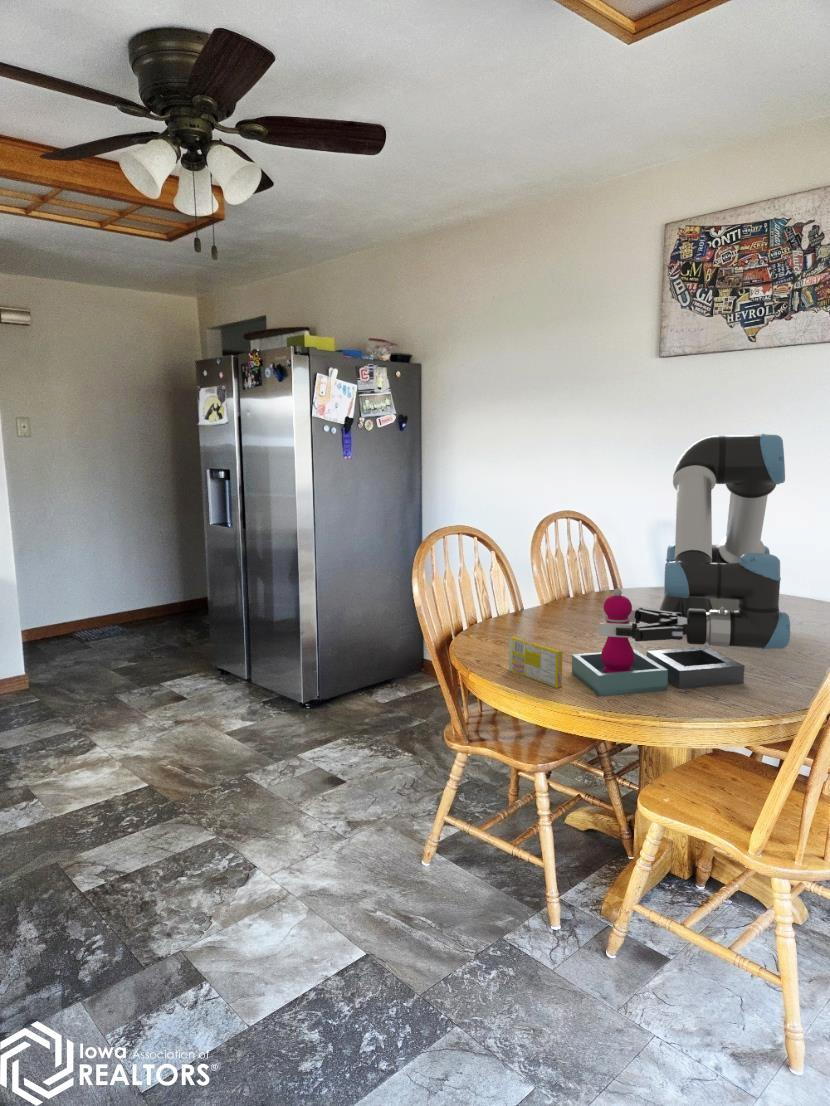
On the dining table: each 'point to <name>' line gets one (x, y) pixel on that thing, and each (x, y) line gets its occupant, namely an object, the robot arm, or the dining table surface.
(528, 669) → the candy box
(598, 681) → the tray
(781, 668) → the dining table surface
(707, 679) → the bore block
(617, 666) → the pepper mill
